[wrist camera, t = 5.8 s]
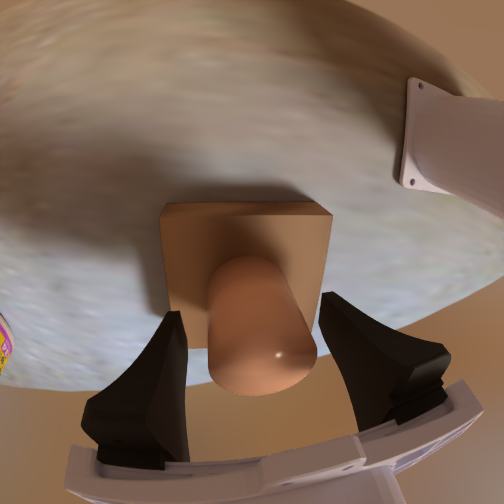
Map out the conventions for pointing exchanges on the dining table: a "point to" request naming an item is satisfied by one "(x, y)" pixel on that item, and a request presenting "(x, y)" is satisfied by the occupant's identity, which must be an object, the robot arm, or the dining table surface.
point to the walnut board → (241, 251)
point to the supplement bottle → (5, 342)
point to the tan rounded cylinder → (255, 329)
